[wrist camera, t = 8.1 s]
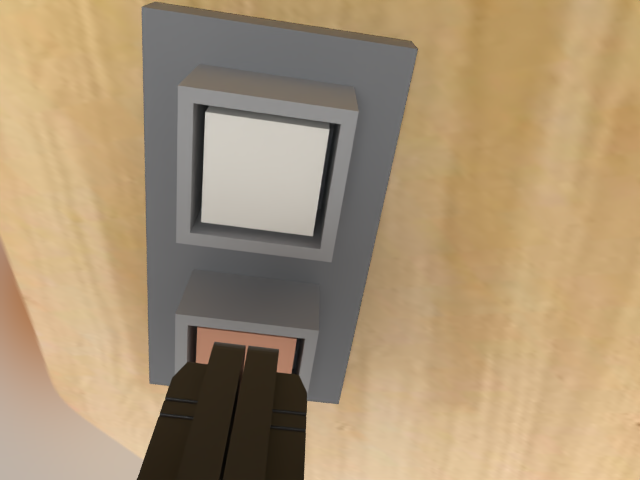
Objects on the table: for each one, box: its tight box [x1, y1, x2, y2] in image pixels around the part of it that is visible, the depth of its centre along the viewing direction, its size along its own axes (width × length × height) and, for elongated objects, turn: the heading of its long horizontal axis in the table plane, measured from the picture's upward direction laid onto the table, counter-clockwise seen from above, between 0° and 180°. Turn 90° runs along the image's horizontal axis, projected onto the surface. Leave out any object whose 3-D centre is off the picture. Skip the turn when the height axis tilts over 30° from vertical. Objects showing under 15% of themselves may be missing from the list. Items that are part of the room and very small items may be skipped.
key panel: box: [142, 2, 418, 404], centre depth 28 cm, size 22×12×6 cm, turn 172°
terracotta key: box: [196, 326, 297, 374], centre depth 29 cm, size 5×5×2 cm
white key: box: [201, 106, 329, 236], centre depth 23 cm, size 5×5×2 cm
